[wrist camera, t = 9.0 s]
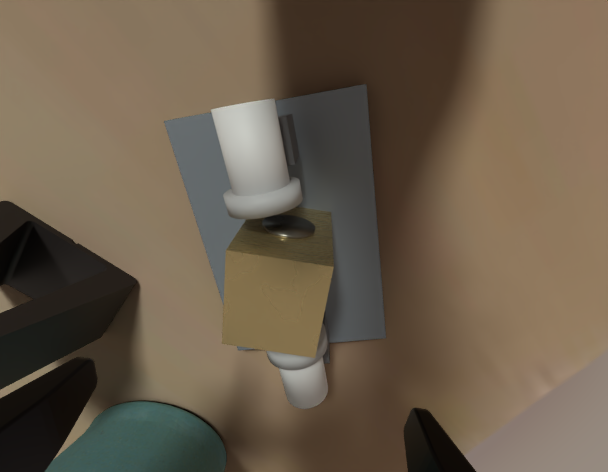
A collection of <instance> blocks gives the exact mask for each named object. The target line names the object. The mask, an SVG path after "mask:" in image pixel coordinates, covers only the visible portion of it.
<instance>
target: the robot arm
mask: <svg viewBox="0 0 608 472" xmlns="http://www.w3.org/2000/svg"><path fill="white" fill-rule="evenodd" d="M96 385H97V374H96V368H95V363H94V361H93V360H92V359H90V358H84V357H76V358H74V359H72V360H70V361H68V362H66V363H65V364H63V365H61V366H59V367H57V368H55V369H54V370H52V371H50V372H48V373H46V374H44V375H43V376H41V377H39V378H37V379H35V380H33V381H32V382H30V383H28V384H26V385H24V386H22V387H21V388H19V389H17V390H15V391H13V392H11V393H10V394H8V395H6V396H4V397H2V398H0V472H45V471H46V469H47V468H48V466H49V465H50V463H51V462H52V460H53V459H54V458H55V456H56V455H57V453H58V452H59V450H60V448H61V447H62V445H63V444H64V442H65V440H66V439H67V437H68V435H69V434H70V432H71V430H72V428H73V427H74V425H75V423H76V421H77V420H78V418H79V416H80V414H81V412H82V411H83V409H84V407H85V405H86V404H87V402H88V400H89V398H90V397H91V395H92V393H93V391H94V390H95V388H96ZM404 441H405V450H406V459H407V468H408V472H476V471H475V469H474V468H473V467H472V466H471V464H470V463H469V462H468V460H467V459H466V458H465V457H464V455H463V454H462V453H461V451H460V450H459V449H458V448H457V446H456V445H455V444H454V442H453V441H452V440H451V439H450V437H449V436H448V435H447V433H446V432H445V431H444V430H443V428H442V427H441V426H440V425H439V423H438V422H437V421H436V419H435V418H434V417H433V416H432V414H431V413H430V412H429V411H428V410H426V409H420V408H413V409H412V410H411V412H410V414H409V416H408V419H407V421H406V424H405V427H404Z"/></svg>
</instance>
